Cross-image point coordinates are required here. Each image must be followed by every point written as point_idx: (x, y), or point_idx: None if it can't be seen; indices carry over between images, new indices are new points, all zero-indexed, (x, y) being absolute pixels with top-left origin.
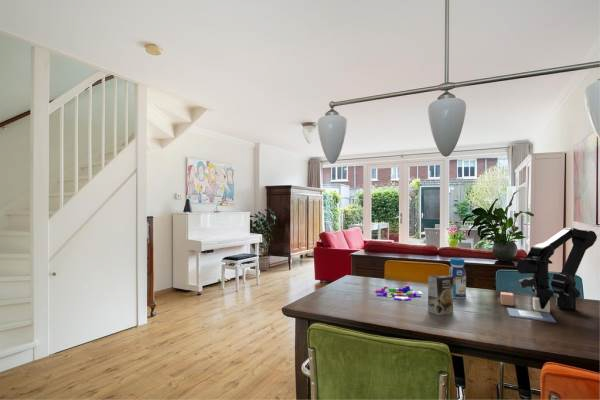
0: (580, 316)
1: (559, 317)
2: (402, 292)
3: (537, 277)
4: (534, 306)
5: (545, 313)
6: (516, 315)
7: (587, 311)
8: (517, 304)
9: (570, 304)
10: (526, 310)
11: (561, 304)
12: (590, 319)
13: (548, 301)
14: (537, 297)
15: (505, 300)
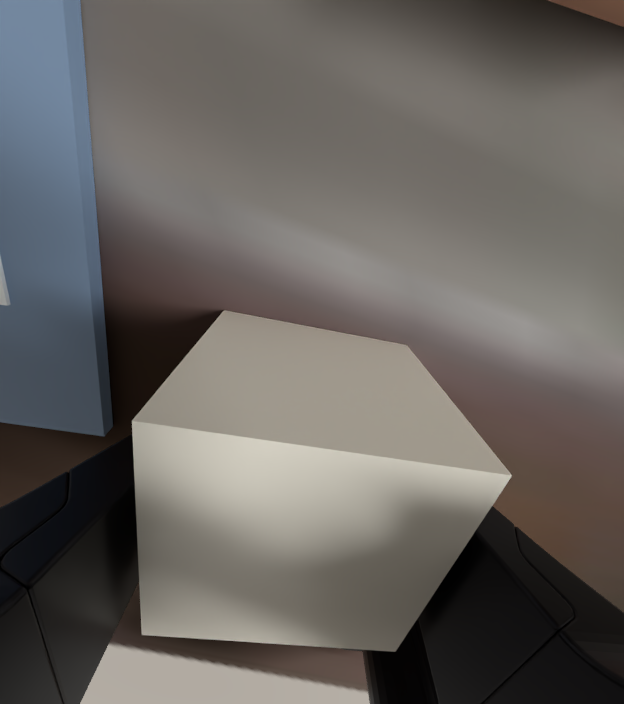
0: None
1: (28, 476)
2: None
3: None
4: (251, 337)
5: (44, 384)
6: None
7: (361, 671)
8: (580, 139)
9: (368, 689)
10: (52, 110)
11: (407, 634)
12: (130, 636)
13: (147, 614)
14: (443, 547)
15: None
